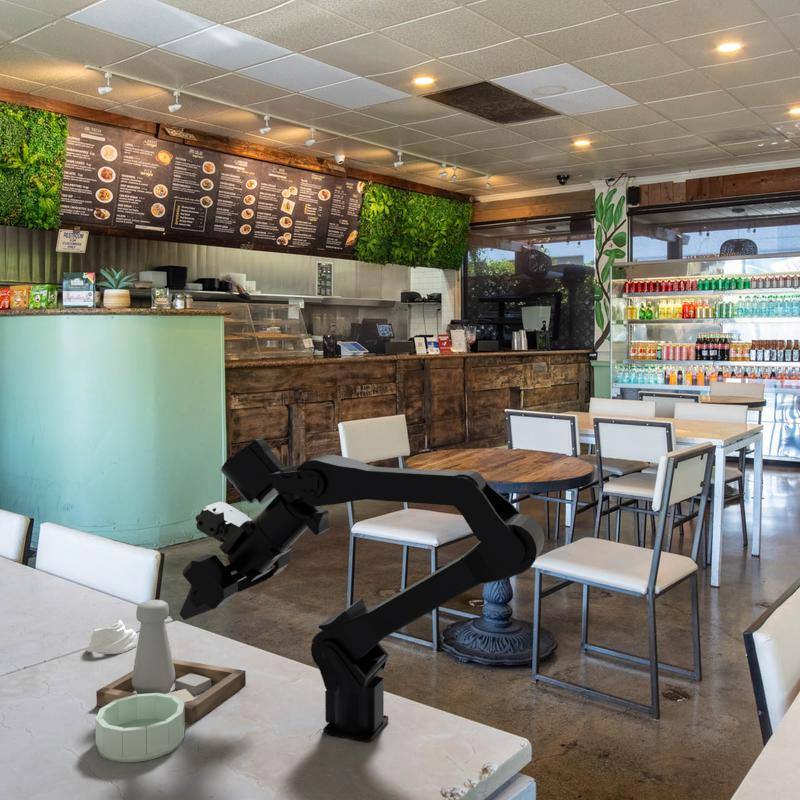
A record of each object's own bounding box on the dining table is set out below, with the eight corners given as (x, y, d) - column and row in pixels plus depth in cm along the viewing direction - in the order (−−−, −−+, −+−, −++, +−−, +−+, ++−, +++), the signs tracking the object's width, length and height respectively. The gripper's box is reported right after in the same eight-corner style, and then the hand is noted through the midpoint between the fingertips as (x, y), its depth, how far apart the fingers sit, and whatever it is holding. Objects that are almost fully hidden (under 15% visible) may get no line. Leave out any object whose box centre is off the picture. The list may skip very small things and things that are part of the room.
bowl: (200, 730, 100) (199, 700, 100) (148, 768, 91) (148, 736, 91) (134, 717, 104) (134, 688, 104) (78, 753, 95) (78, 722, 94)
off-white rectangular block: (211, 690, 113) (210, 678, 113) (195, 697, 111) (194, 686, 111) (191, 683, 115) (191, 672, 115) (175, 691, 113) (174, 680, 113)
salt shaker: (162, 706, 107) (161, 610, 106) (123, 702, 108) (121, 607, 108) (182, 688, 113) (181, 597, 112) (145, 684, 114) (144, 594, 113)
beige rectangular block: (196, 711, 107) (195, 699, 106) (173, 717, 105) (173, 705, 105) (185, 700, 110) (185, 688, 110) (164, 705, 108) (163, 694, 108)
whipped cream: (102, 667, 123) (102, 637, 122) (74, 654, 127) (74, 625, 126) (144, 647, 130) (144, 619, 129) (116, 636, 133) (116, 608, 132)
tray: (245, 684, 114) (245, 670, 114) (191, 724, 102) (191, 708, 102) (158, 669, 119) (157, 656, 119) (96, 705, 107) (96, 691, 107)
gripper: (269, 473, 114) (202, 545, 118) (195, 496, 96) (120, 579, 100) (320, 532, 112) (251, 603, 116) (254, 566, 94) (175, 648, 98)
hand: (202, 606), depth 107 cm, fingers open, 9 cm apart
